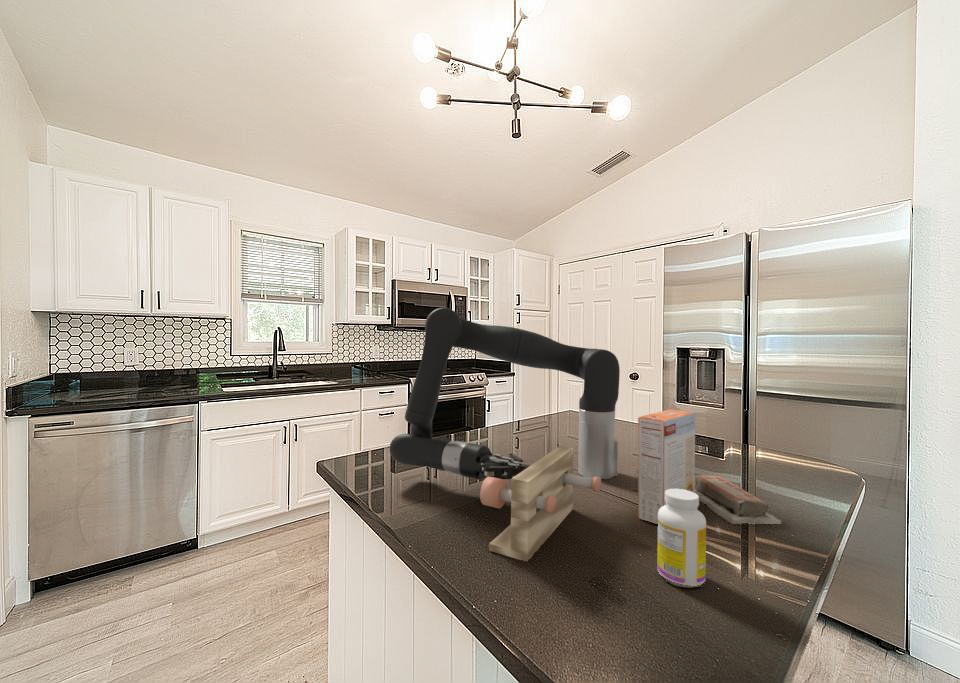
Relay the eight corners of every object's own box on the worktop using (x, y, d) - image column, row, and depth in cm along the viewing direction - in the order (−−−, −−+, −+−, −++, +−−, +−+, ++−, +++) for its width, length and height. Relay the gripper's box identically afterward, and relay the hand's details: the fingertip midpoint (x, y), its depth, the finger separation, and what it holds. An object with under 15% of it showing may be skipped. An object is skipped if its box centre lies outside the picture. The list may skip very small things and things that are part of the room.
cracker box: (667, 501, 93) (669, 407, 93) (695, 510, 88) (697, 411, 88) (635, 518, 84) (636, 415, 84) (664, 529, 79) (666, 420, 79)
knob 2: (532, 488, 85) (532, 464, 85) (541, 481, 89) (541, 458, 89) (595, 502, 78) (596, 475, 78) (602, 493, 83) (602, 468, 82)
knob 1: (479, 508, 75) (480, 481, 74) (493, 499, 79) (493, 473, 79) (547, 525, 68) (548, 495, 68) (558, 514, 73) (558, 486, 72)
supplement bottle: (694, 567, 66) (696, 486, 66) (713, 592, 60) (715, 503, 60) (651, 564, 67) (652, 485, 67) (665, 589, 61) (666, 501, 60)
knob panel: (489, 550, 71) (490, 474, 71) (541, 502, 92) (542, 443, 91) (527, 562, 67) (528, 481, 67) (572, 509, 88) (573, 448, 88)
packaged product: (685, 472, 100) (726, 473, 100) (684, 493, 100) (726, 493, 100) (732, 502, 82) (782, 502, 82) (732, 527, 82) (782, 527, 82)
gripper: (450, 449, 90) (524, 463, 81) (481, 437, 101) (549, 448, 92) (449, 484, 90) (523, 501, 81) (480, 467, 101) (548, 481, 93)
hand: (537, 473), depth 87 cm, fingers closed
